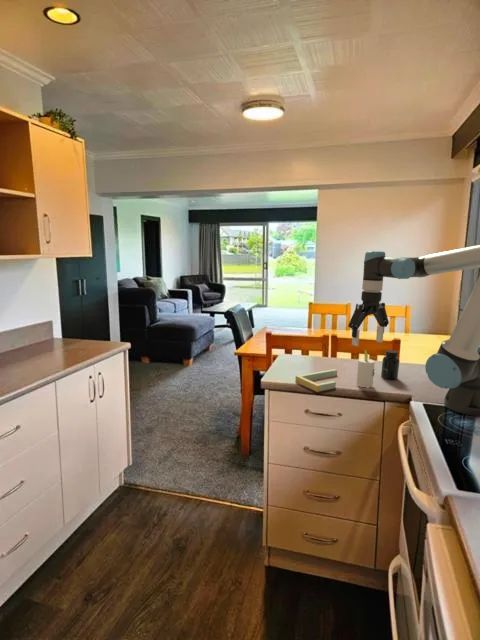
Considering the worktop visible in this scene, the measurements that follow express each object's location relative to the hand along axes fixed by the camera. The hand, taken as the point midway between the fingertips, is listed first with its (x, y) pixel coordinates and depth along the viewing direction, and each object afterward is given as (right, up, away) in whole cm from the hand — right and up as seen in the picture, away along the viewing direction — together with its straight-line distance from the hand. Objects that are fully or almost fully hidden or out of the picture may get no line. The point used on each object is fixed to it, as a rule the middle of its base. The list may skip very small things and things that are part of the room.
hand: (367, 343), depth 163 cm
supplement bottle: (+14, -16, +13) cm, 25 cm away
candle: (0, -17, +3) cm, 18 cm away
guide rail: (-15, -16, +6) cm, 23 cm away
